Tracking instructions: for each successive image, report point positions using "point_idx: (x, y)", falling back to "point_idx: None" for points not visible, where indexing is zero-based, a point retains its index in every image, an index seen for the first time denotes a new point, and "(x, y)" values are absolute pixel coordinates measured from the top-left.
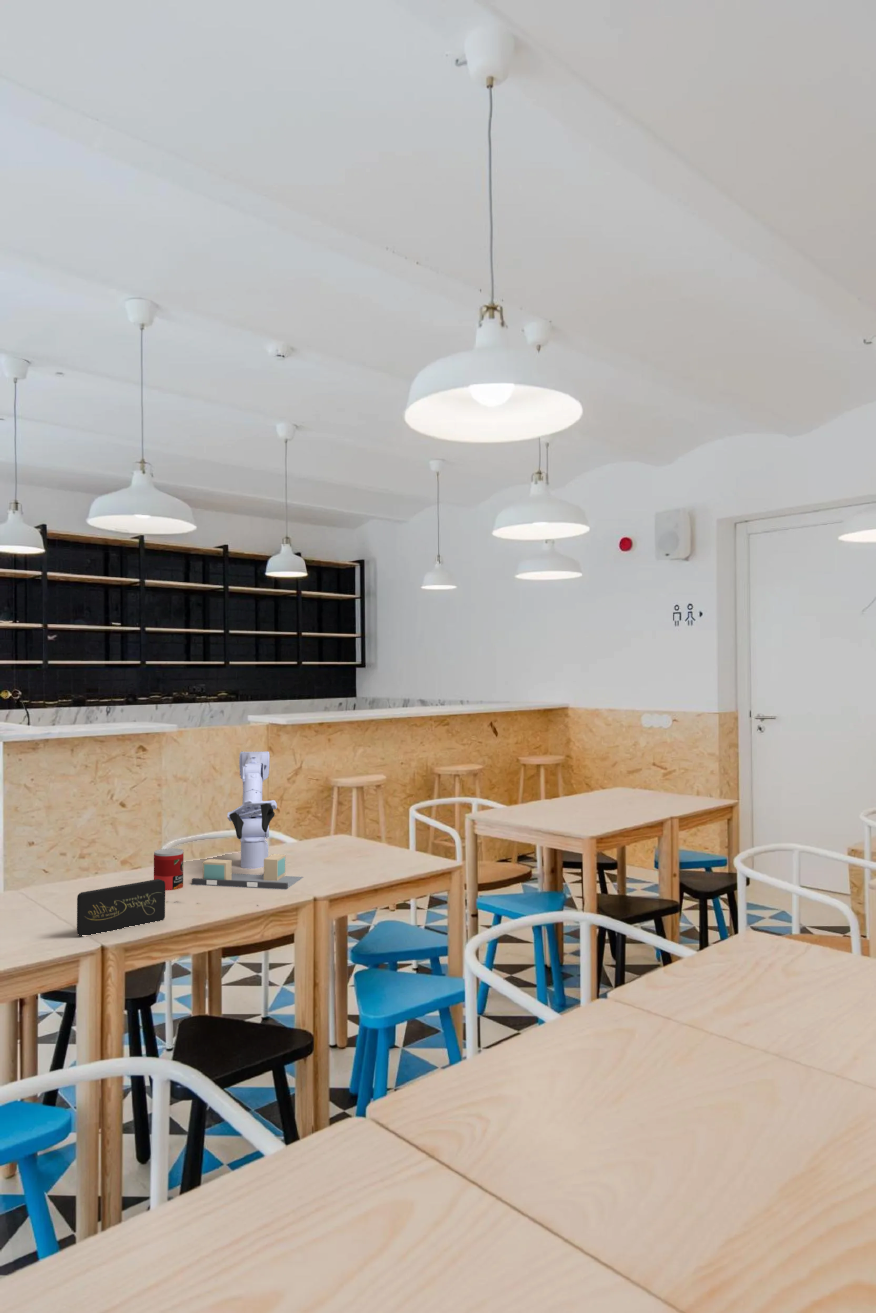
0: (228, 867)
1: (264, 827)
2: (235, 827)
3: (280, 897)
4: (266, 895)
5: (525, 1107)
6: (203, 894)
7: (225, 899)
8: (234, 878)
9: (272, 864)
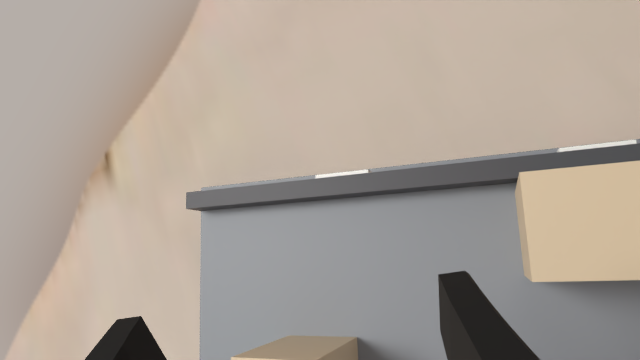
0: (523, 223)
1: (114, 331)
2: (520, 351)
3: (210, 125)
4: (268, 133)
5: None
6: (562, 45)
7: (403, 15)
8: (544, 347)
9: (273, 351)
